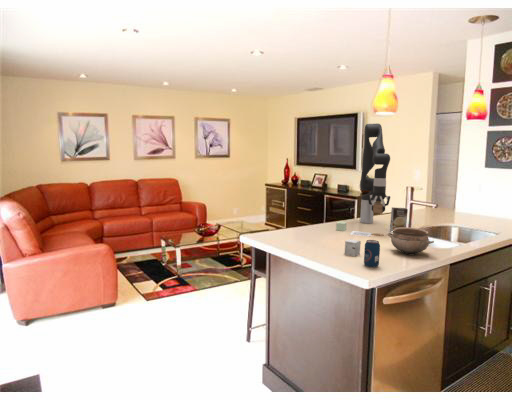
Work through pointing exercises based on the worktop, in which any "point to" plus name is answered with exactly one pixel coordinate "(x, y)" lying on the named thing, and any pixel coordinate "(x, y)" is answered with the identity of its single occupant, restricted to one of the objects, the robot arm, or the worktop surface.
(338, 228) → the sage cube
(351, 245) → the skincare box
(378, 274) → the worktop surface
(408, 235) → the cooking pot
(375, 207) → the walnut block
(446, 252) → the worktop surface
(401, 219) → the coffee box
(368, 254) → the soda can
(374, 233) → the coaster
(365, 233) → the letter
